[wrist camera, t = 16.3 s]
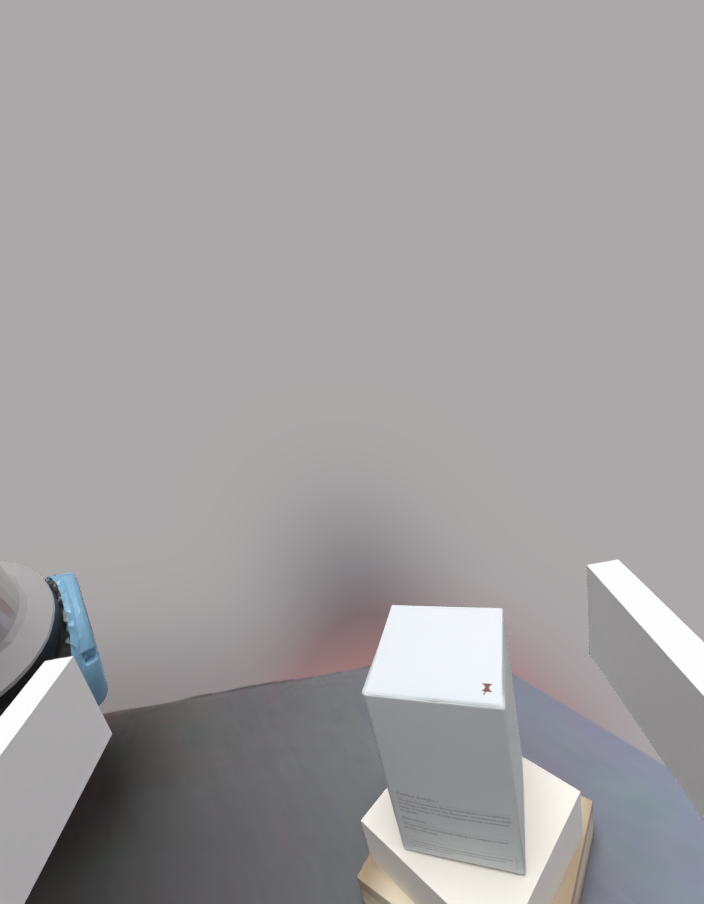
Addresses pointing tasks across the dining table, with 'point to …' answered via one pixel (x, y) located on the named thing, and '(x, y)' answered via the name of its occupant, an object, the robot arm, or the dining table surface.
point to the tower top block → (475, 886)
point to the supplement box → (450, 734)
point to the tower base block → (389, 900)
